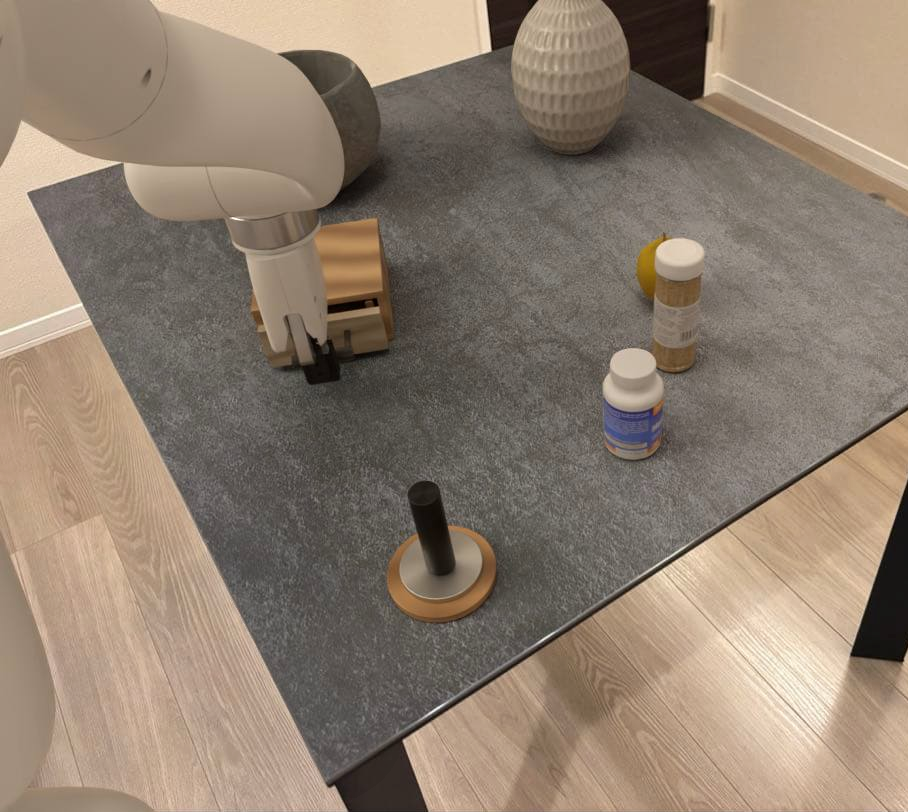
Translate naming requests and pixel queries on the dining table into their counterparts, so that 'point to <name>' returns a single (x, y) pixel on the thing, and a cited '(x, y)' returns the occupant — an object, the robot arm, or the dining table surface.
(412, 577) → the rod on disc base
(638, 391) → the pill bottle
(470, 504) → the dining table surface
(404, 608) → the disc
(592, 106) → the vase
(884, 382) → the dining table surface
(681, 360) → the sprinkles bottle
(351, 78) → the bowl
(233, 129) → the robot arm
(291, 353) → the drawer
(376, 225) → the cabinet
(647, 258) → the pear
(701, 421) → the dining table surface
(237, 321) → the dining table surface
